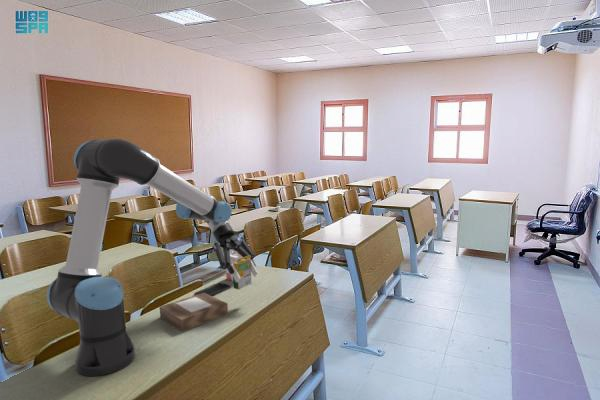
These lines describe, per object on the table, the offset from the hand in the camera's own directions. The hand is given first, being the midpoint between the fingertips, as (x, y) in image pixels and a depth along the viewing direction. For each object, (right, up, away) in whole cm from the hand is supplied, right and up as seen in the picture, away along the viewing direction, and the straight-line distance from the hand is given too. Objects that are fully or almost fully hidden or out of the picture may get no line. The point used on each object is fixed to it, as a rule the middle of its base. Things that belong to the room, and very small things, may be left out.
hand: (247, 277), depth 147 cm
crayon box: (-2, -4, +3) cm, 6 cm away
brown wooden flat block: (-18, -13, -5) cm, 23 cm away
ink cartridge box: (-10, -8, +33) cm, 35 cm away
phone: (-17, -10, +19) cm, 27 cm away
